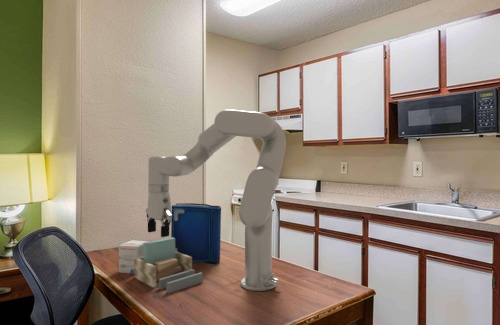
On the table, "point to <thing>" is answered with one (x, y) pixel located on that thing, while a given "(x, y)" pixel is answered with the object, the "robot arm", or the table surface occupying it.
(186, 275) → the stand
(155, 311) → the table surface
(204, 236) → the book
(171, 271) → the offcut low
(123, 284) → the table surface
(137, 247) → the ink box
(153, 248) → the sheet
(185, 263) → the bin
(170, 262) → the offcut top
